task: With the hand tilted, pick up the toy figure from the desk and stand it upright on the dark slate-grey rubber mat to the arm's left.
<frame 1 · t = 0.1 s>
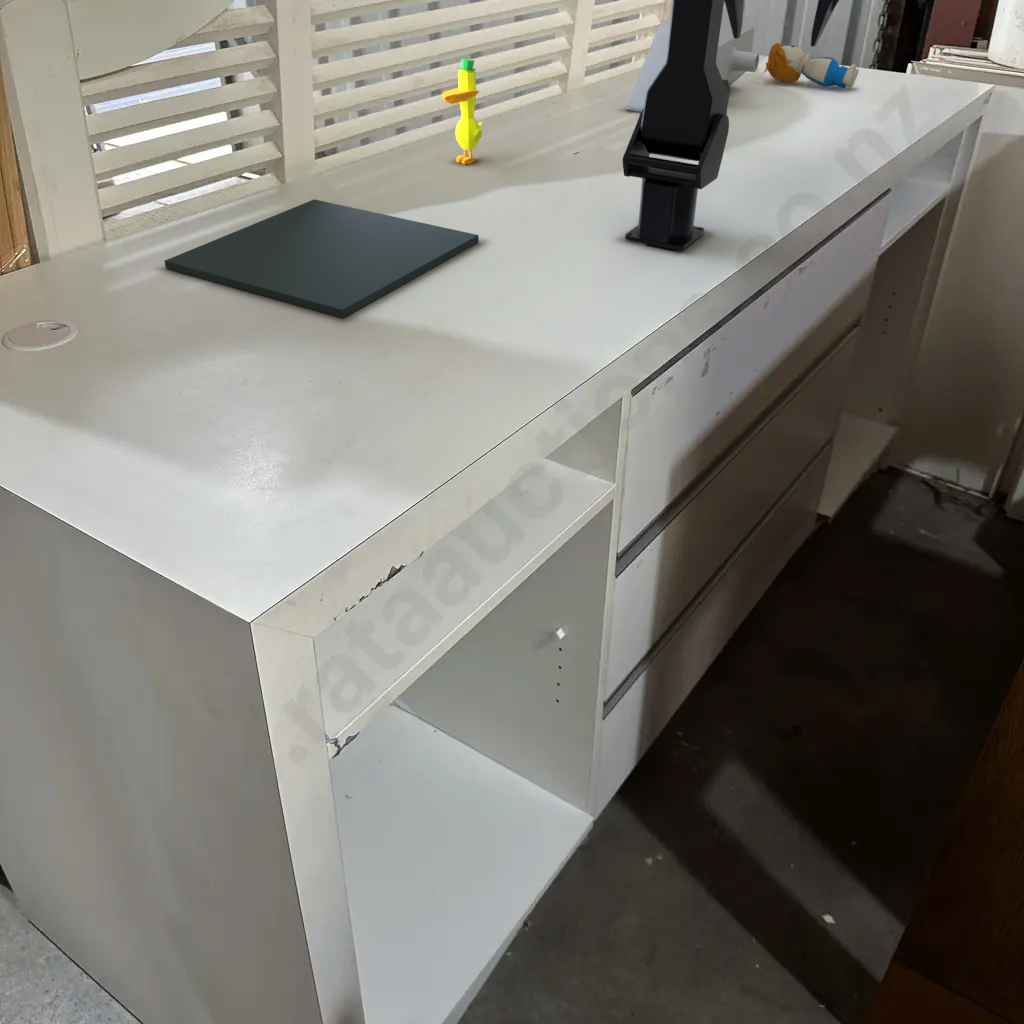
hand: (774, 42, 111), 15 cm above the table, tool pointing down, fingers open, 9 cm apart
toy: (806, 86, 160), on the table
tank: (700, 102, 150), on the table
mat: (327, 255, 95), on the table
toy figure: (464, 163, 122), on the table
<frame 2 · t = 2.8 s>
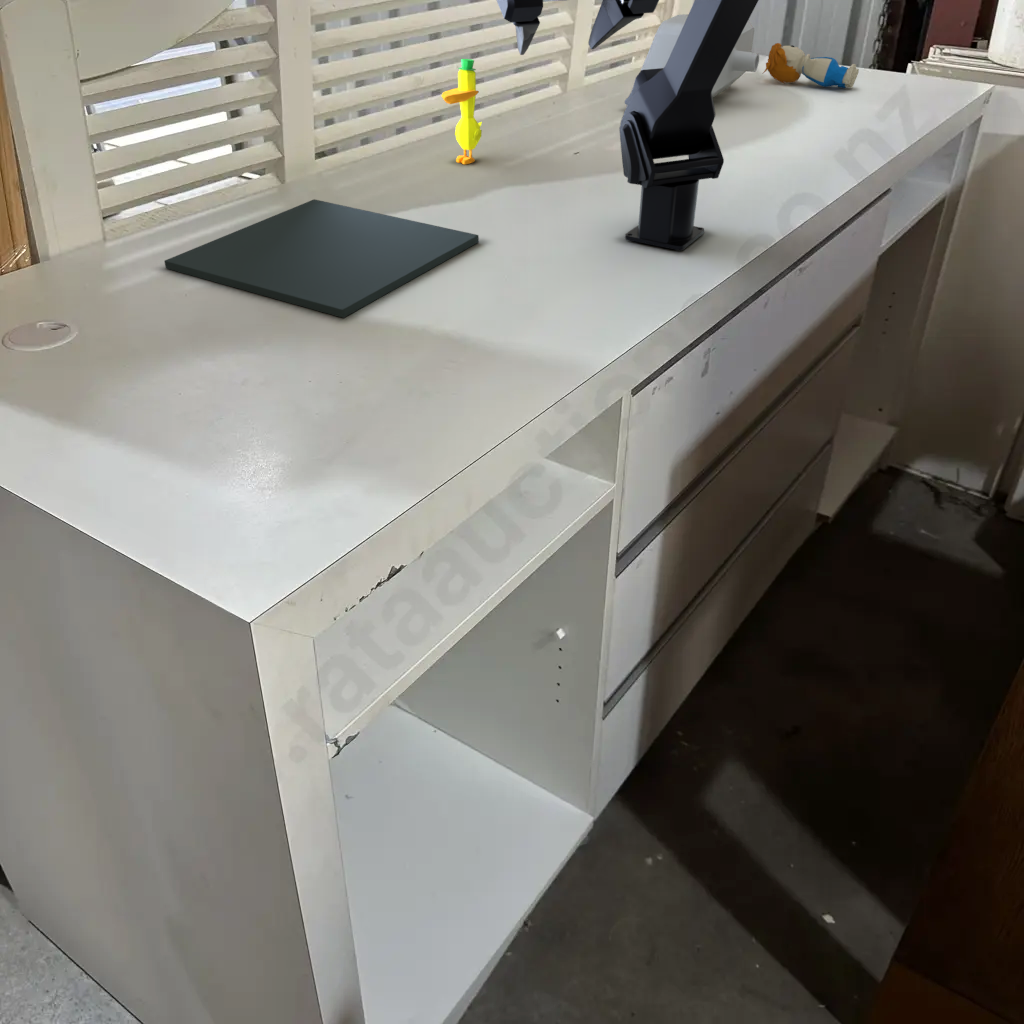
hand: (556, 49, 112), 14 cm above the table, tool tilted 35°, fingers open, 9 cm apart
nothing on the table moved.
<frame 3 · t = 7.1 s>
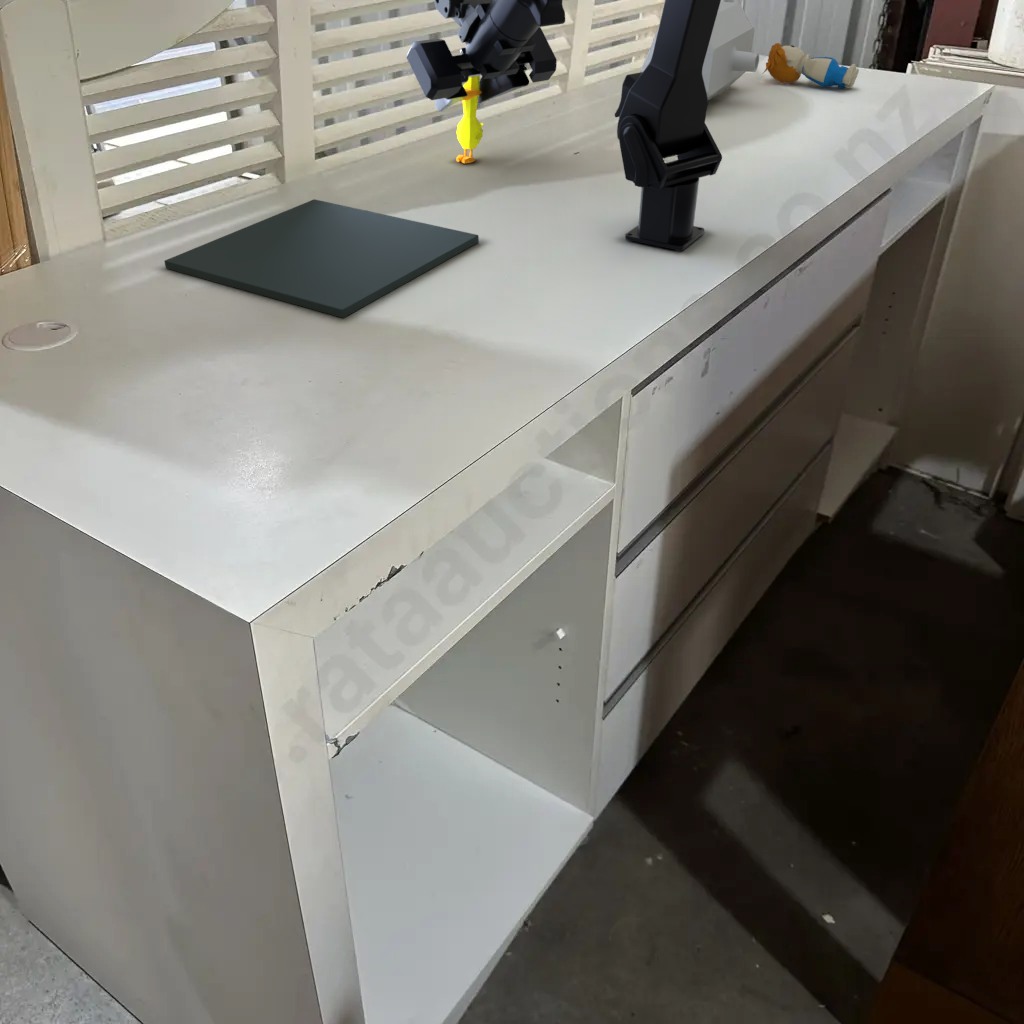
hand: (456, 104, 119), 7 cm above the table, tool tilted 45°, fingers closed on toy figure, 5 cm apart
toy figure: (464, 162, 122), on the table, touching gripper
everything else where it was.
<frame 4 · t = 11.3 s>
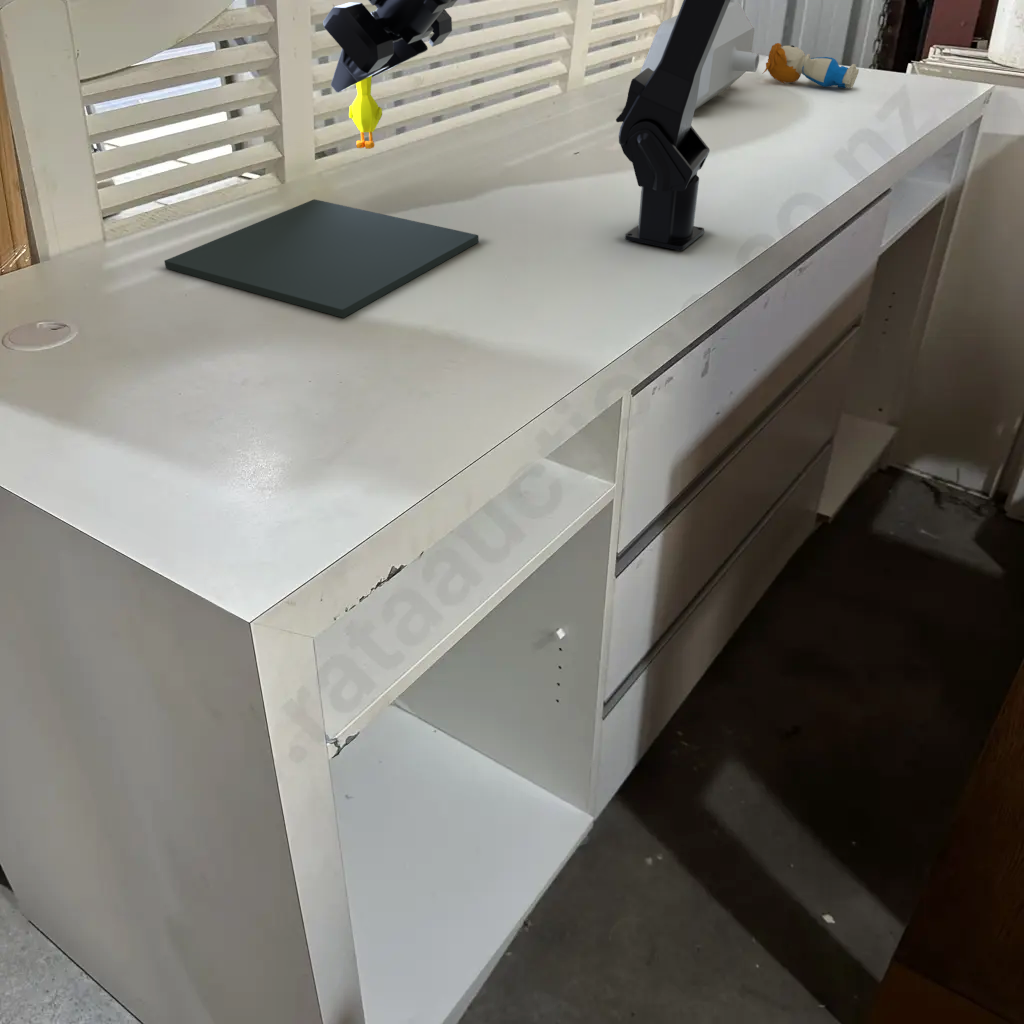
hand: (347, 83, 103), 12 cm above the table, tool tilted 45°, fingers closed on toy figure, 5 cm apart
toy figure: (365, 148, 107), point 6 cm above the table, touching gripper
everything else where it was.
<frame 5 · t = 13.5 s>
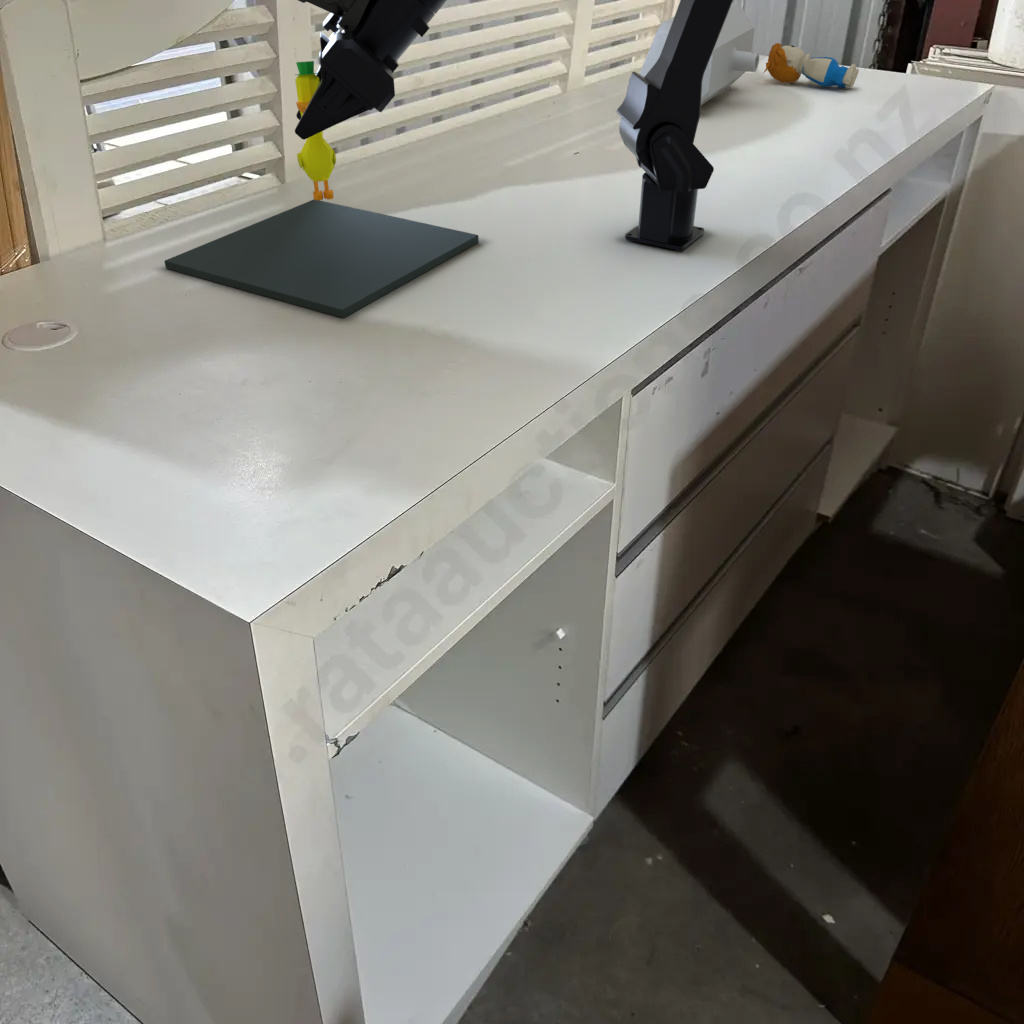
hand: (299, 127, 88), 12 cm above the table, tool tilted 45°, fingers closed on toy figure, 5 cm apart
toy figure: (323, 199, 92), point 5 cm above the table, touching gripper
everything else where it was.
when the fingers open (7 cm above the table, at t = 15.5 s): toy figure stays where it is, resting on mat.
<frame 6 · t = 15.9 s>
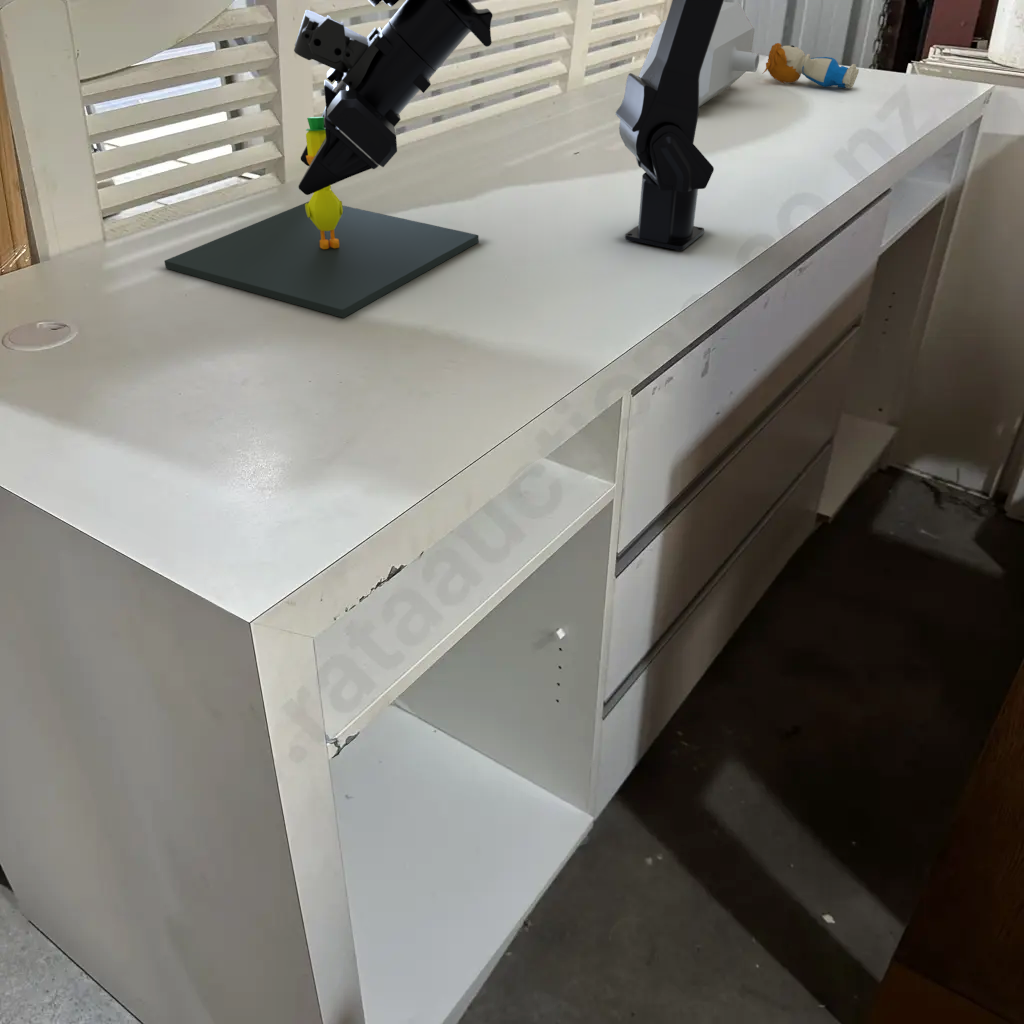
hand: (303, 176, 91), 8 cm above the table, tool tilted 45°, fingers open, 9 cm apart
toy figure: (329, 248, 95), point 1 cm above the table, touching mat
everything else where it was.
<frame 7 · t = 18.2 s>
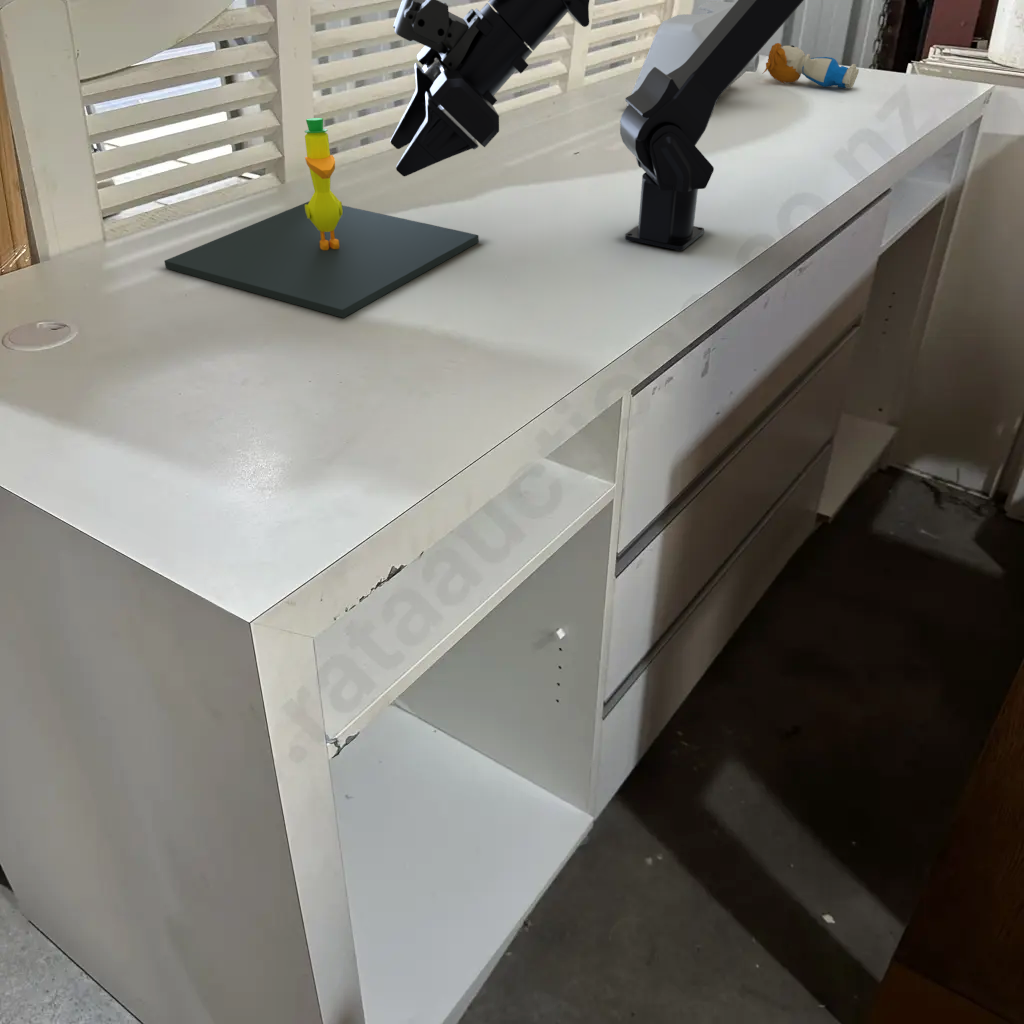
hand: (396, 158, 91), 9 cm above the table, tool tilted 45°, fingers open, 9 cm apart
nothing on the table moved.
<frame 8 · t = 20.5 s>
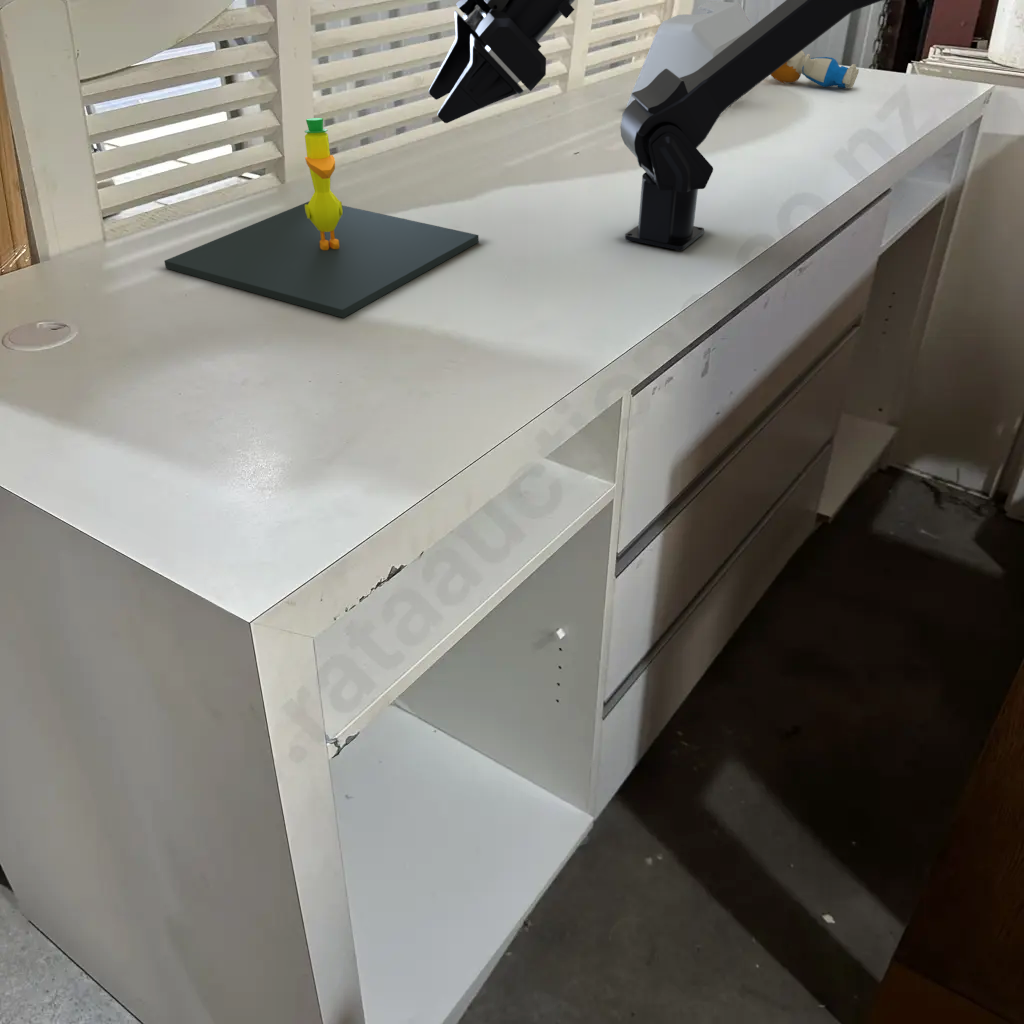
hand: (436, 107, 89), 14 cm above the table, tool tilted 45°, fingers open, 9 cm apart
nothing on the table moved.
at the end: toy figure inside the target area on the mat (0.3 cm from its centre), point 0.6 cm above the mat's base; toy figure tilted 0°; the gripper is holding nothing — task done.
